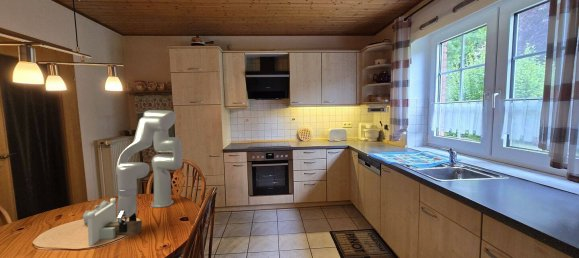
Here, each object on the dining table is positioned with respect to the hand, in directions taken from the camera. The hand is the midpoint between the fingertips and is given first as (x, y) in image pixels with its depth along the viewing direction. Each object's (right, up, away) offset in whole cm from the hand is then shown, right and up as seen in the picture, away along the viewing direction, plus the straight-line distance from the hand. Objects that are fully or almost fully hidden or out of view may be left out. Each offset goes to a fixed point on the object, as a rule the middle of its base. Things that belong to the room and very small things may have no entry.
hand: (128, 227), depth 119 cm
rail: (-2, -3, 0) cm, 3 cm away
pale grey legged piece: (-8, -3, -1) cm, 8 cm away
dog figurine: (-23, -2, +11) cm, 26 cm away
